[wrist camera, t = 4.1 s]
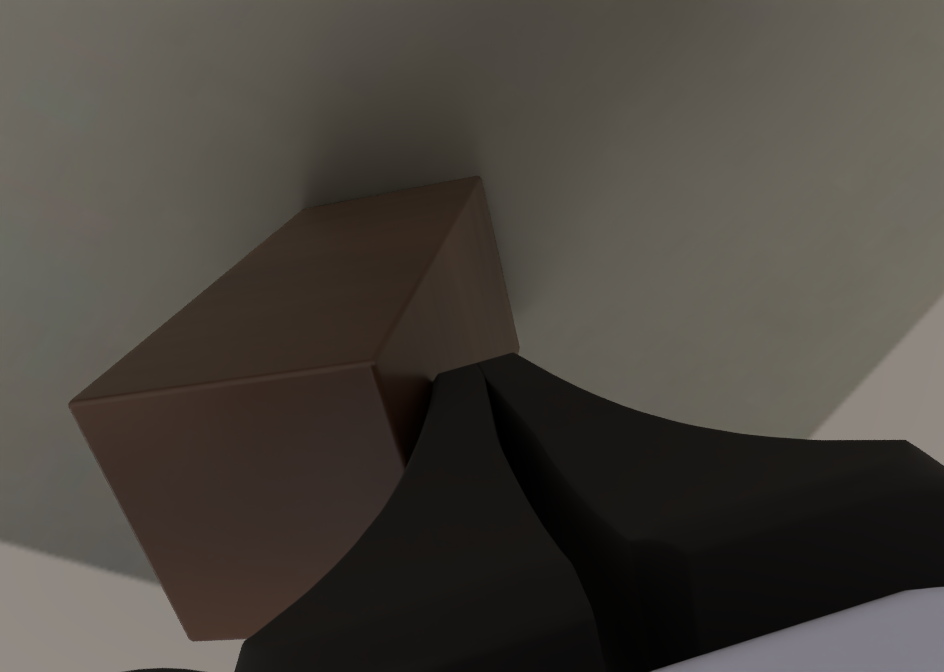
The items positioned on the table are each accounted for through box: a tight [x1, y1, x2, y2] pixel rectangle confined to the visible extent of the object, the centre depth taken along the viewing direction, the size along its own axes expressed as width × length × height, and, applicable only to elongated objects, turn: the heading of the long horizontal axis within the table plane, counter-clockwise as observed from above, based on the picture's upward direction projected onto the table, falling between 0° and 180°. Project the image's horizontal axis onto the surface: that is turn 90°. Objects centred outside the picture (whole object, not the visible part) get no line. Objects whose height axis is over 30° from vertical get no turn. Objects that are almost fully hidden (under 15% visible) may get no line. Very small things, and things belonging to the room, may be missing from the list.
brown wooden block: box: [69, 176, 519, 641], centre depth 14 cm, size 4×4×9 cm
